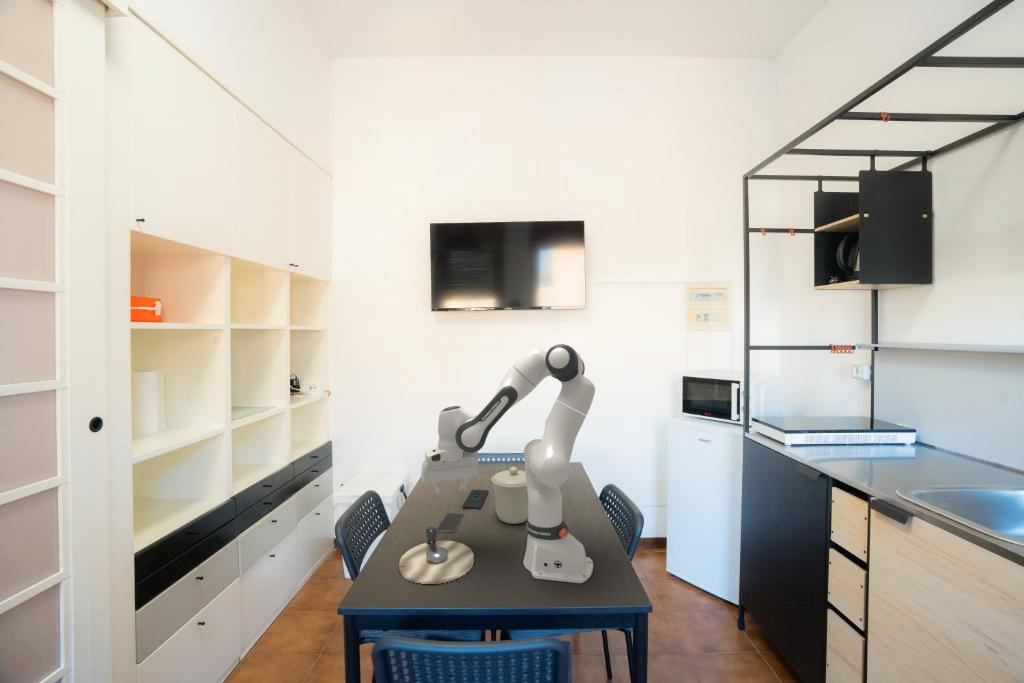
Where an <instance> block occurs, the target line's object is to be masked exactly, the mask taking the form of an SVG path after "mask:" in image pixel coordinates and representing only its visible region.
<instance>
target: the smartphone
mask: <svg viewBox="0 0 1024 683" xmlns="http://www.w3.org/2000/svg"><path fill="white" fill-rule="evenodd" d="M464 516H465V515H464V513H453V512H452V513H450V512H448V513H447V514H446V515H445V516H444V518H443V519H442V520H441V522H440V524H438V526H437V527H436V528H437V531H438V532H437V533H448V532H453V533H455V531H456V530H457V528H458V527H459V525H460V523H461V521H462V519H463V518H464Z"/></svg>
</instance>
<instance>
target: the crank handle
mask: <svg viewBox="0 0 1024 683" xmlns="http://www.w3.org/2000/svg"><path fill="white" fill-rule="evenodd" d="M437 528H438V527H435V526H429V527H427V528H426V529H425V543H426V544H428V545H429V548H430V549H429V550H428V551H427V552H426V560H427V561H428V562H429V563H433V564H437V563H442V562H444V561H446V560H447V558H448V550H447V549H446V548H444V547H437V546H436V544H435V543H436V542H437V541H438V539H437V534H438V532H437Z"/></svg>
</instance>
